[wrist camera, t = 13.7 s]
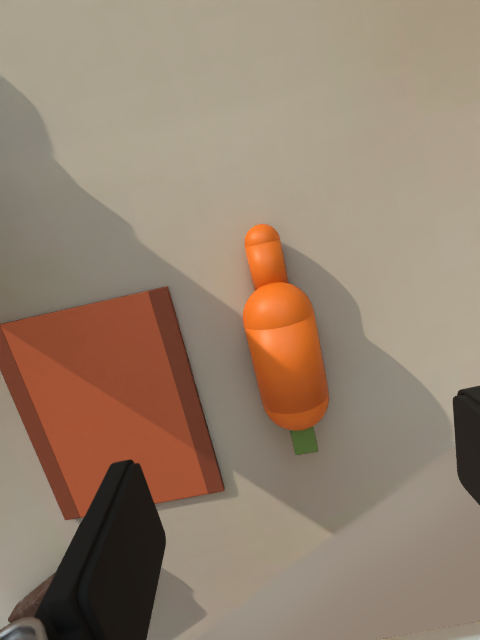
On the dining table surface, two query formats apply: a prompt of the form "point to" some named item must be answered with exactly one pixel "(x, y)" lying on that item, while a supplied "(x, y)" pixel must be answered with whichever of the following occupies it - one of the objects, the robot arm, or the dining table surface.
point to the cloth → (110, 398)
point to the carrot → (283, 342)
